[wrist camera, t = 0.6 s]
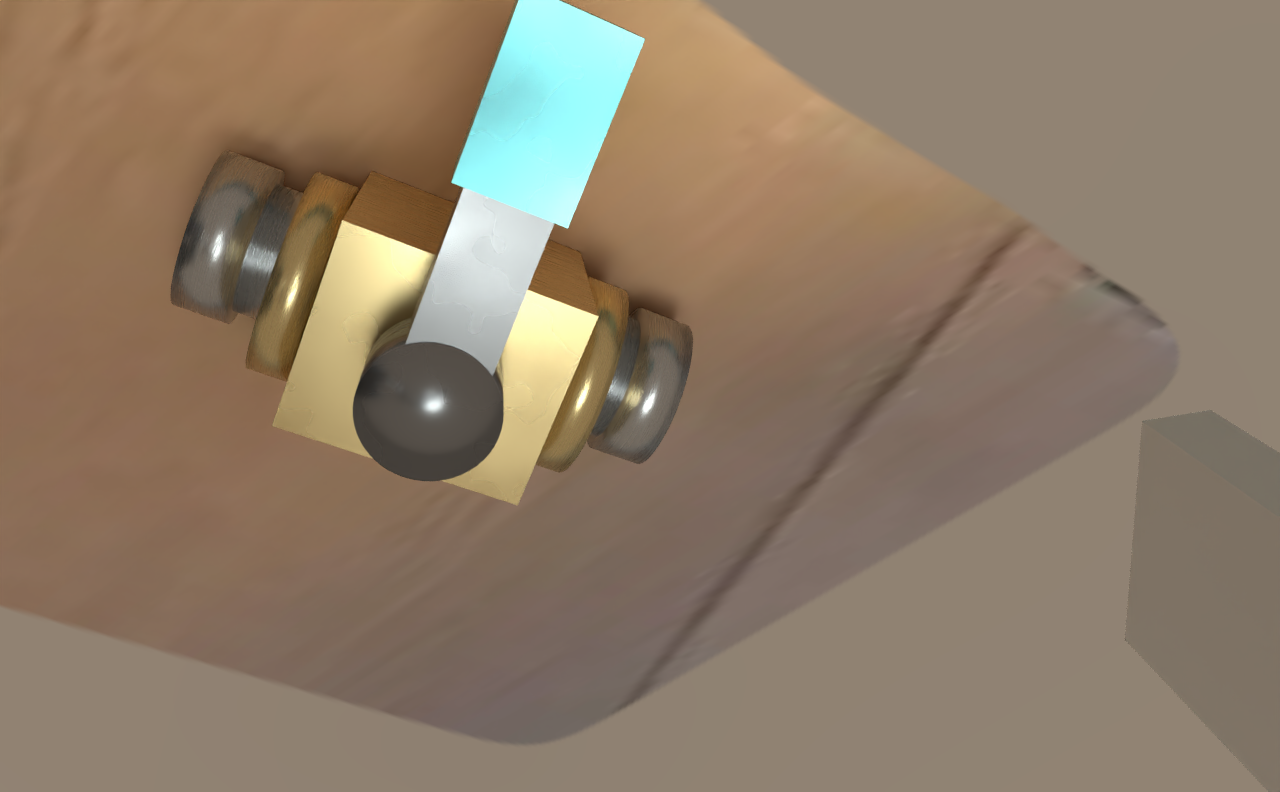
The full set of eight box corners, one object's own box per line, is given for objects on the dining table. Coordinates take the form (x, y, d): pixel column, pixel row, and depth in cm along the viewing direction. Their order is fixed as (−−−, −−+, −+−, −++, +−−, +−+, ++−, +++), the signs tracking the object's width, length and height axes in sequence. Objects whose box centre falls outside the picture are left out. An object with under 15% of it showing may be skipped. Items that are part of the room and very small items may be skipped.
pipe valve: (194, 296, 35) (117, 383, 28) (248, 120, 33) (180, 163, 26) (617, 443, 39) (644, 552, 32) (686, 290, 37) (731, 370, 30)
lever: (474, 459, 30) (473, 501, 27) (345, 416, 29) (332, 456, 27) (647, 38, 26) (661, 46, 24) (505, -25, 25) (506, -24, 23)
